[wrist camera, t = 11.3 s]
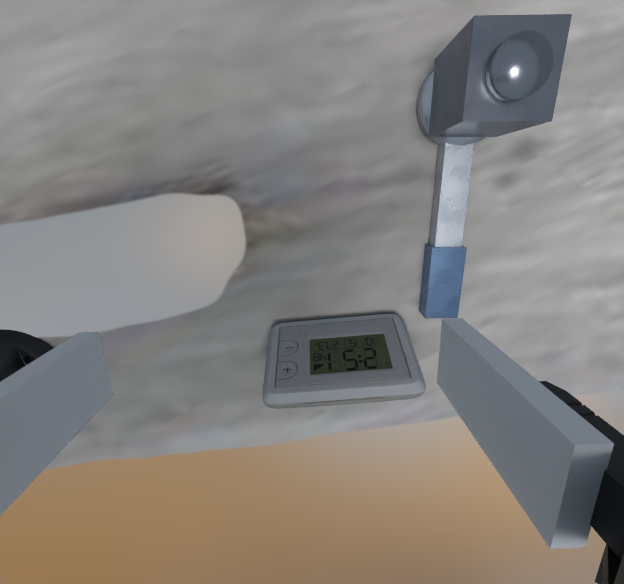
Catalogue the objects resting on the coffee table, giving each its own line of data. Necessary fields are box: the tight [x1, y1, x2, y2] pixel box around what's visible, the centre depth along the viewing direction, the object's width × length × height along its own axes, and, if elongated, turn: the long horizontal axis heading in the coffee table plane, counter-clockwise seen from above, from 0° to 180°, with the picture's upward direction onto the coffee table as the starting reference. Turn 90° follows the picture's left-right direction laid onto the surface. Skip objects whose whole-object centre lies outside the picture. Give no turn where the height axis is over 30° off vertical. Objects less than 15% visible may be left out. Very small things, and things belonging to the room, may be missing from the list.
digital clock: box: [263, 314, 426, 408], centre depth 37 cm, size 16×9×11 cm, turn 84°
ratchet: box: [416, 70, 485, 318], centre depth 34 cm, size 8×26×6 cm, turn 0°
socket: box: [428, 14, 572, 137], centre depth 27 cm, size 6×6×9 cm
